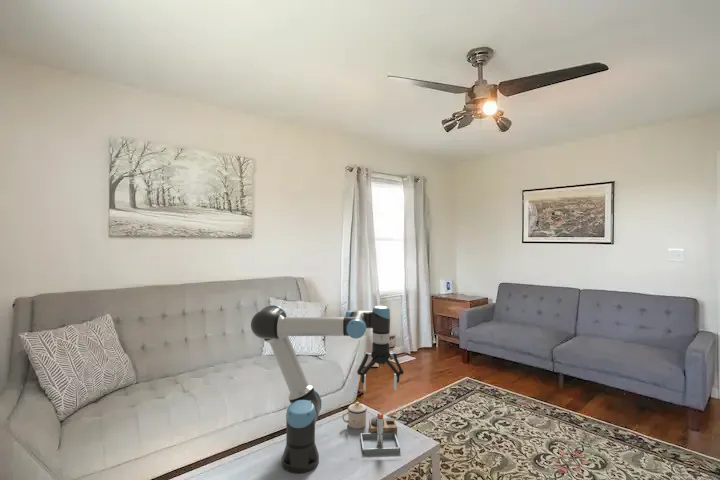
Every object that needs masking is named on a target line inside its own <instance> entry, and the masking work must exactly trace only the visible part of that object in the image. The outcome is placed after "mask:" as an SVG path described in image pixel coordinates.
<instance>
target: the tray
mask: <svg viewBox="0 0 720 480" xmlns="http://www.w3.org/2000/svg"><path fill="white" fill-rule="evenodd" d="M359 435H360V437H359V439H360V444H361V450H362V455H377V454H382V455H383V454H401V447H400V443H399V440H398V436H396V434H395V432H392V433H383V439H387V438H393V439H394V442H395V445H396V447H375V448H373V447H371V448H365V446H364V445H365V444H364V439H377V433H370V432H367V433H365V432H363V433H362V432H361V433H360V434H359Z"/></svg>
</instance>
